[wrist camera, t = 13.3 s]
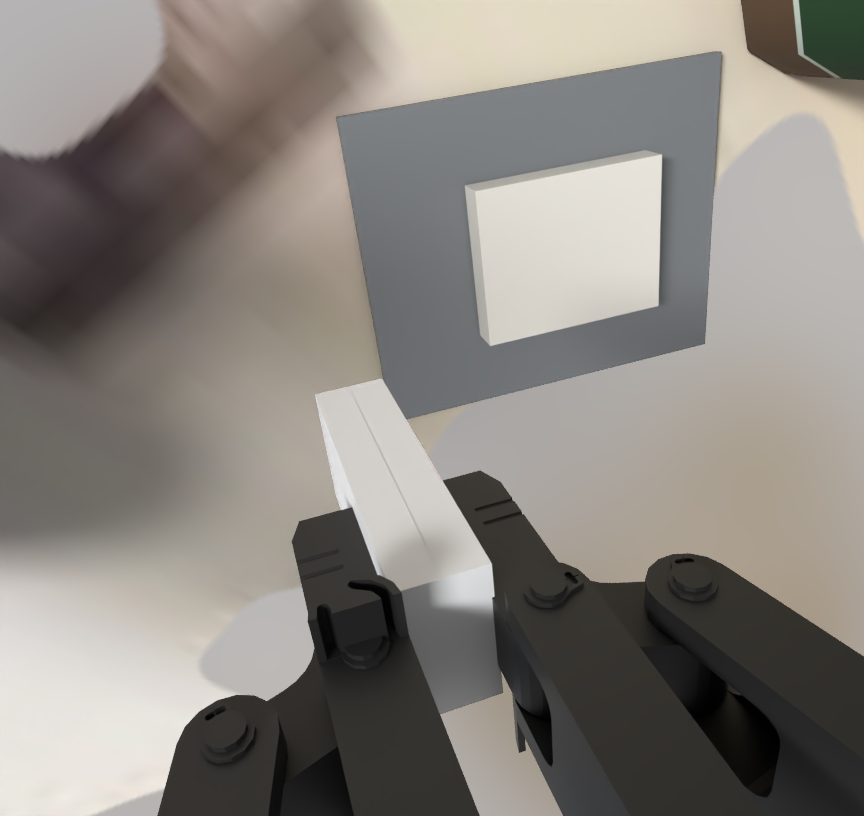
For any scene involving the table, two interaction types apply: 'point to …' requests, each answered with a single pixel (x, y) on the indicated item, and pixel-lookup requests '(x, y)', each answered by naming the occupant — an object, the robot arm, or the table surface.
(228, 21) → the table surface
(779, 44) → the beer bottle
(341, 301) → the table surface
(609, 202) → the tile
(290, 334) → the table surface
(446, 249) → the mat
